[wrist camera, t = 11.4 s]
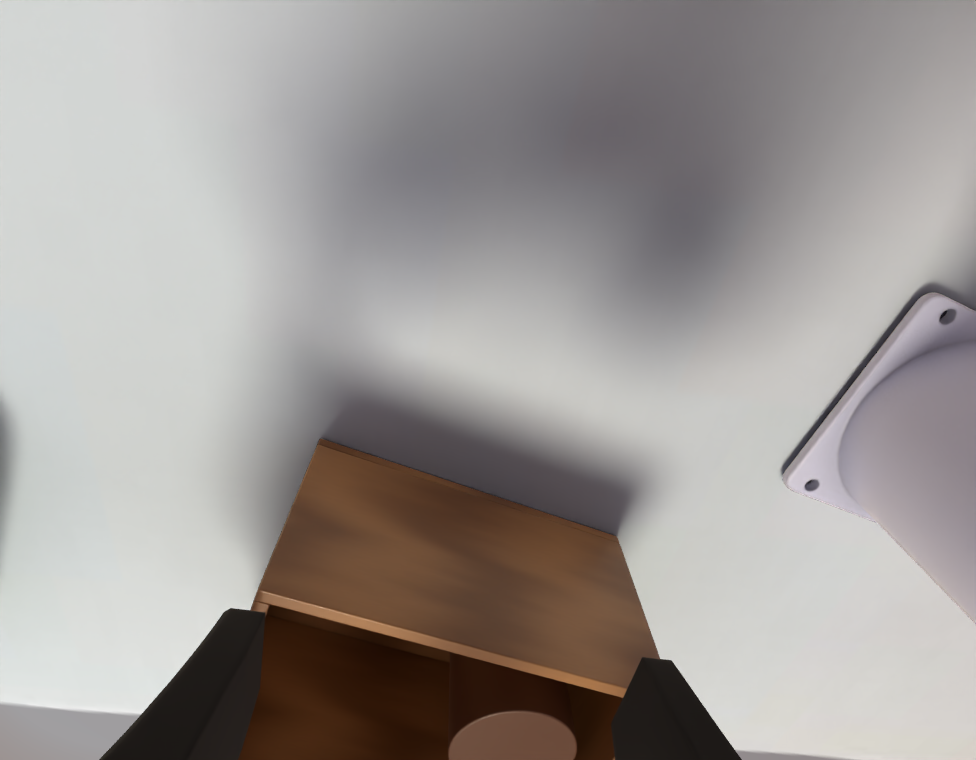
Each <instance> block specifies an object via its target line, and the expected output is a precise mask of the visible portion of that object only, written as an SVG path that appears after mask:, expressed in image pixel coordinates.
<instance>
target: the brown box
mask: <svg viewBox="0 0 976 760" xmlns="http://www.w3.org/2000/svg"><path fill="white" fill-rule="evenodd" d="M250 611H258V612H265V626H264V640H263V653H262V667H261V680H260V690H259V693H258V696H257V700H256V703H255V707H254V710H253V714H252V717H251V721H250V724H249V727H248V731H247V734H246V737H245V741H244V744H243V747H242V750H241V753H240V756H239V758H238V760H449V758H448V724H449V674H450V652H452V653H456V654H460V655H464V656H467V657H471V658H475V659H479V660H482V661H486V662H490V663H494V664H497V665H501V666H505V667H509V668H513V669H516V670H520V671H524V672H528V673H531V674H535V675H539V676H543V677H546V678H550V679H554V680H558V681H562V682H565V683H567V689H568V695H569V700H570V706H571V711H572V717H573V723H574V728H575V734H576V739H577V752H576V756H575V759H574V760H615V755H614V747H613V738H612V730H611V722H612V720H613V718H614V716H615V714H616V712H617V709H618V707H619V705H620V703H621V701H622V699H623V697H624V695H625V693H626V690H627V688H628V686H629V684H630V682H631V680H632V678H633V676H634V673H635V671H636V669H637V667H638V665H639V663H640V661H641V659H642V657H646V658H655V659H660V657H659V654H658V651H657V648H656V646H655V643H654V640H653V637H652V634H651V631H650V629H649V626H648V623H647V620H646V617H645V614H644V612H643V609H642V606H641V603H640V600H639V597H638V595H637V592H636V589H635V586H634V583H633V580H632V578H631V575H630V572H629V569H628V566H627V563H626V561H625V558H624V555H623V552H622V549H621V546H620V544H619V541H618V538H617V536H614V535H611V534H608V533H605V532H602V531H599V530H596V529H593V528H590V527H587V526H584V525H581V524H578V523H575V522H572V521H569V520H566V519H563V518H560V517H557V516H554V515H551V514H548V513H545V512H542V511H539V510H536V509H533V508H530V507H526V506H523V505H520V504H517V503H514V502H511V501H508V500H505V499H502V498H499V497H496V496H493V495H490V494H487V493H484V492H481V491H478V490H475V489H472V488H469V487H466V486H463V485H460V484H457V483H454V482H451V481H448V480H445V479H442V478H439V477H436V476H433V475H430V474H427V473H424V472H421V471H418V470H415V469H412V468H409V467H406V466H403V465H400V464H397V463H394V462H391V461H388V460H384V459H381V458H378V457H375V456H372V455H369V454H366V453H363V452H360V451H357V450H354V449H351V448H348V447H345V446H342V445H339V444H336V443H333V442H330V441H327V440H324V439H319V441H318V444H317V446H316V449H315V451H314V454H313V456H312V458H311V461H310V463H309V466H308V468H307V471H306V473H305V475H304V478H303V480H302V483H301V485H300V488H299V490H298V493H297V495H296V497H295V500H294V502H293V505H292V507H291V510H290V512H289V514H288V517H287V519H286V522H285V524H284V527H283V529H282V531H281V534H280V536H279V539H278V541H277V544H276V546H275V548H274V551H273V553H272V556H271V558H270V561H269V563H268V566H267V568H266V570H265V573H264V575H263V578H262V580H261V583H260V585H259V587H258V590H257V593H256V596H255V599H254V601H253V604H252V607H251V610H250Z"/></svg>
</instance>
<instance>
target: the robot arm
mask: <svg viewBox="0 0 976 760" xmlns="http://www.w3.org/2000/svg"><path fill="white" fill-rule="evenodd" d="M945 310H947V313H946V315H945V316H944V317H943V318H942V319H940V316H941V314H942V313H943V312H944V311H945ZM812 479H813V480H812ZM782 480H783V482H784V484H785V485H786V486H787V487H788V488H789V489H790V490H792V491H794V492H797V493H799V494H802V495H805V496H807V497H810V498H812V499H815V500H818V501H820V502H823V503H826V504H828V505H831V506H834V507H836V508H839V509H842V510H844V511H847V512H850V513H852V514H855V515H858V516H860V517H863V518H866V519H868V520H871V521H874V522H876V523H878V524H879V525H880V526H881V527H882V528H883V529H884V530H885V531H886V532H887V533H888V534H889V535H890V536H891V538H892V539H893V540H894V541H895V542H896V543H897V544H898V545H899V546H900V547H901V548H902V549H903V550H904V551H905V552H906V553H907V554H908V555H909V556H910V557H911V558H912V559H913V560H914V561H915V562H916V563H917V564H918V565H919V566H920V567H921V568H922V569H923V570H924V572H925V573H926V574H927V575H928V576H929V577H930V578H931V579H932V580H933V581H934V582H935V583H936V584H937V585H938V586H939V587H940V588H941V589H942V590H943V591H944V592H945V593H946V594H947V595H948V596H949V597H950V598H951V599H952V600H953V601H954V602H955V603H956V604H957V606H958V607H959V608H960V609H961V610H962V611H963V612H964V613H965V614H966V615H967V616H968V617H969V618H970V619H971V620H972V621H973V622H974V623H975V624H976V311H974V310H972V309H970V308H968V307H966V306H964V305H962V304H960V303H958V302H956V301H954V300H952V299H950V298H948V297H946V296H944V295H941V294H939V293H935V292H932V293H927V294H925V295H923V296H922V297H920V298H919V299H918V300H917V301H916V302H915V304H914V305H913V306H912V308H911V309H910V310H909V312H908V313H907V314H906V315H905V317H904V318H903V319H902V321H901V322H900V323H899V324H898V326H897V327H896V328H895V330H894V331H893V332H892V334H891V335H890V336H889V337H888V339H887V340H886V341H885V343H884V344H883V345H882V346H881V348H880V349H879V350H878V352H877V353H876V354H875V355H874V357H873V358H872V359H871V361H870V362H869V363H868V365H867V366H866V367H865V368H864V370H863V371H862V372H861V374H860V375H859V376H858V377H857V379H856V380H855V381H854V383H853V384H852V385H851V387H850V388H849V389H848V390H847V392H846V393H845V394H844V396H843V397H842V398H841V399H840V401H839V402H838V403H837V405H836V406H835V407H834V408H833V410H832V411H831V412H830V414H829V415H828V416H827V418H826V419H825V420H824V421H823V423H822V424H821V425H820V427H819V428H818V429H817V430H816V432H815V433H814V434H813V436H812V437H811V438H810V439H809V441H808V442H807V443H806V445H805V446H804V447H803V449H802V450H801V451H800V452H799V454H798V455H797V456H796V458H795V459H794V460H793V461H792V463H791V464H790V465H789V467H788V468H787V469H786V471H785V472H784V474H783V479H782ZM809 480H812V482H810V483H809V484H806V483H807V482H808V481H809ZM805 484H806V485H805ZM264 626H265V612H258V611H250V610H241V609H233V608H230V609H229V610H227V611H225V612H224V613H223V614H222V616H221V617H220V619H219V620H218V621H217V623H216V624H215V626H214V627H213V628H212V630H211V631H210V632H209V634H208V635H207V636H206V638H205V639H204V640H203V642H202V643H201V644H200V645H199V647H198V648H197V649H196V651H195V652H194V653H193V654H192V656H191V657H190V658H189V659H188V661H187V662H186V663H185V664H184V665H183V667H182V668H181V669H180V670H179V672H178V673H177V674H176V675H175V676H174V678H173V679H172V680H171V681H170V682H169V683H168V685H167V686H166V687H165V688H164V689H163V690H162V692H161V693H160V694H159V695H158V696H157V697H156V698H155V700H154V701H153V702H152V703H151V704H150V705H149V706H148V708H147V709H146V710H145V711H144V712H143V713H142V714H141V716H140V717H139V718H138V719H137V720H136V721H135V722H134V723H133V725H132V726H131V727H130V728H129V729H128V730H127V731H126V732H125V733H124V735H122V737H120V738H119V740H118V741H117V742H116V743H115V744H114V745H113V746H112V747H111V748H110V749H109V750H108V751H107V752H106V753H105V754H104V755H103V756H102V757H101V759H100V760H238V758H239V756H240V753H241V750H242V747H243V744H244V741H245V737H246V734H247V731H248V727H249V724H250V721H251V717H252V714H253V710H254V707H255V703H256V700H257V696H258V693H259V690H260V680H261V667H262V653H263V640H264ZM611 730H612V738H613V747H614V755H615V760H742V759H741V758H740V757H739V755H738V754H737V753H736V751H735V750H734V748H733V747H732V746H731V744H730V743H729V741H728V740H727V739H726V737H725V736H724V735H723V733H722V732H721V730H720V729H719V727H718V726H717V725H716V723H715V722H714V720H713V719H712V718H711V716H710V715H709V713H708V712H707V710H706V709H705V708H704V706H703V705H702V703H701V702H700V700H699V699H698V697H697V696H696V695H695V693H694V692H693V690H692V689H691V687H690V686H689V685H688V683H687V682H686V680H685V679H684V677H683V676H682V675H681V673H680V672H679V670H678V669H677V668H676V666H675V665H674V663H673V662H672V661H671V660H663V659H655V658H646V657H642V659H641V661H640V663H639V665H638V667H637V669H636V671H635V673H634V676H633V678H632V680H631V682H630V684H629V686H628V688H627V690H626V693H625V695H624V697H623V699H622V701H621V703H620V705H619V707H618V709H617V712H616V714H615V716H614V718H613V720H612V722H611Z"/></svg>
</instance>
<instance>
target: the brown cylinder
mask: <svg viewBox="0 0 976 760" xmlns="http://www.w3.org/2000/svg"><path fill="white" fill-rule="evenodd" d="M576 752H577V739H576V734H575V728H574V723H573V717H572V711H571V706H570V700H569V695H568V689H567V683H565V682H562V681H558V680H554V679H550V678H546V677H543V676H539V675H535V674H531V673H528V672H524V671H520V670H516V669H513V668H509V667H505V666H501V665H497V664H494V663H490V662H486V661H482V660H479V659H475V658H471V657H467V656H464V655H460V654H456V653H452V652H450V674H449V724H448V758H449V760H574V759H575V756H576Z"/></svg>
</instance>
